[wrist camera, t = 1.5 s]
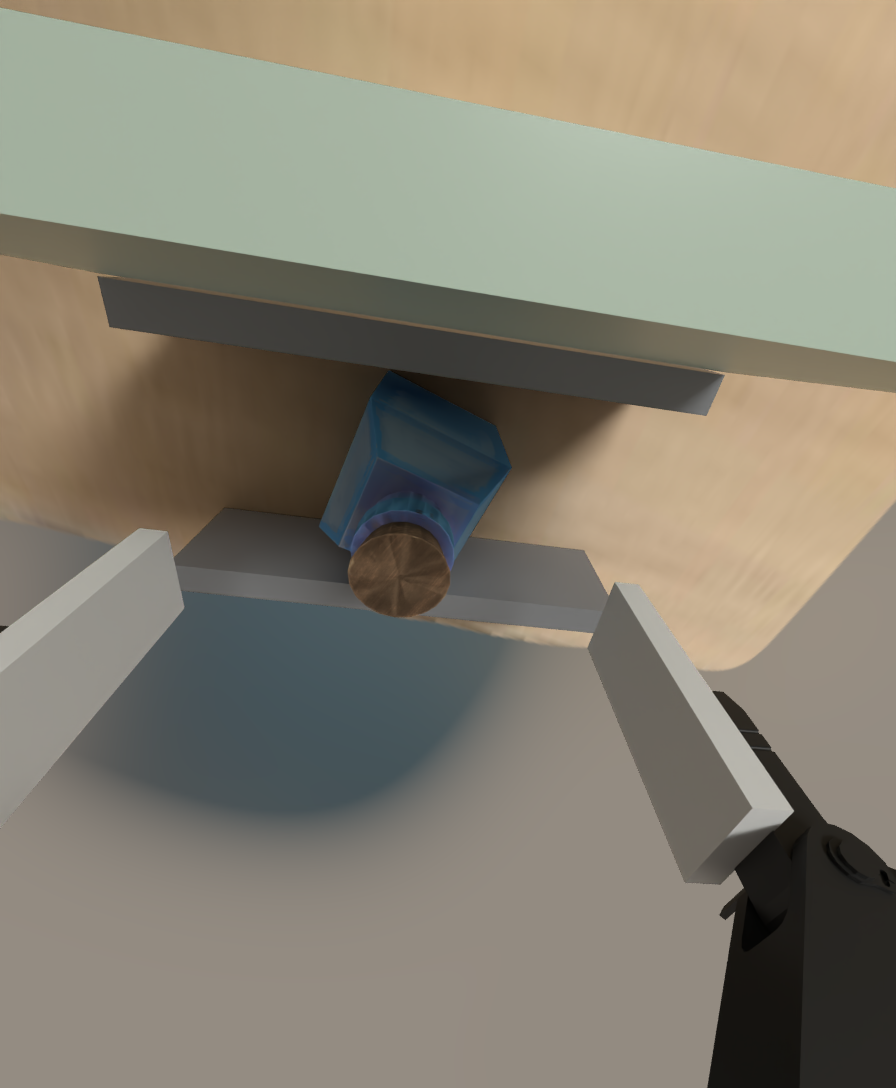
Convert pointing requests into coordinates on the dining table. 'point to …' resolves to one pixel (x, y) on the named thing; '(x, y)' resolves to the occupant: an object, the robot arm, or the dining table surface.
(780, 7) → the dining table surface
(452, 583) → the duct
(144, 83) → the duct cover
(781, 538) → the dining table surface
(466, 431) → the perfume bottle
